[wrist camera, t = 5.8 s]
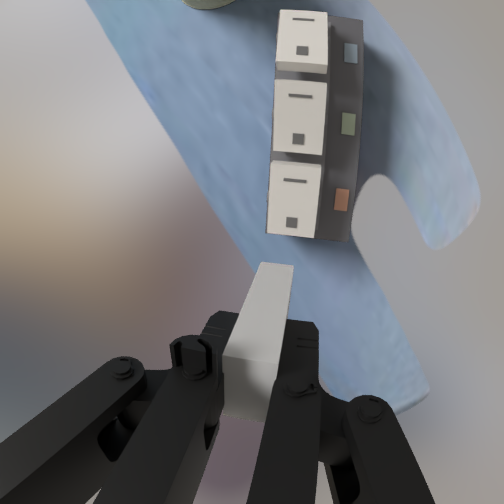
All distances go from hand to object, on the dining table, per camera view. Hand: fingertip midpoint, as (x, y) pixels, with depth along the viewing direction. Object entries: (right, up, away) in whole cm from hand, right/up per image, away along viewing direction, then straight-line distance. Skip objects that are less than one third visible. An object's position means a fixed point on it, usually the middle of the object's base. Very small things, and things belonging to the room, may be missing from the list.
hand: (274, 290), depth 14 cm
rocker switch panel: (+6, +15, +15) cm, 22 cm away
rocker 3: (+2, +6, +11) cm, 13 cm away
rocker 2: (+3, +13, +8) cm, 15 cm away
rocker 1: (+3, +19, +6) cm, 20 cm away
